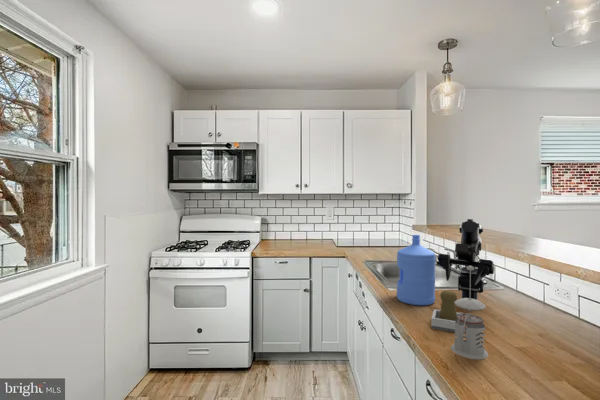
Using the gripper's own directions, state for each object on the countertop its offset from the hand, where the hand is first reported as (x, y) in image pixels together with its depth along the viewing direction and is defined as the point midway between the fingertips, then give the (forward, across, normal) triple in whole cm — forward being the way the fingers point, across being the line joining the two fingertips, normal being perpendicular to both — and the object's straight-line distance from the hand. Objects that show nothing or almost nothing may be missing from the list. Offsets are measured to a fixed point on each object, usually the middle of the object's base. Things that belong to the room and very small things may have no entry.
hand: (460, 282), depth 120 cm
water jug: (+2, -21, +17) cm, 27 cm away
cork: (+16, -2, +3) cm, 16 cm away
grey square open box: (+16, -2, +3) cm, 16 cm away
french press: (+28, +9, -8) cm, 30 cm away
